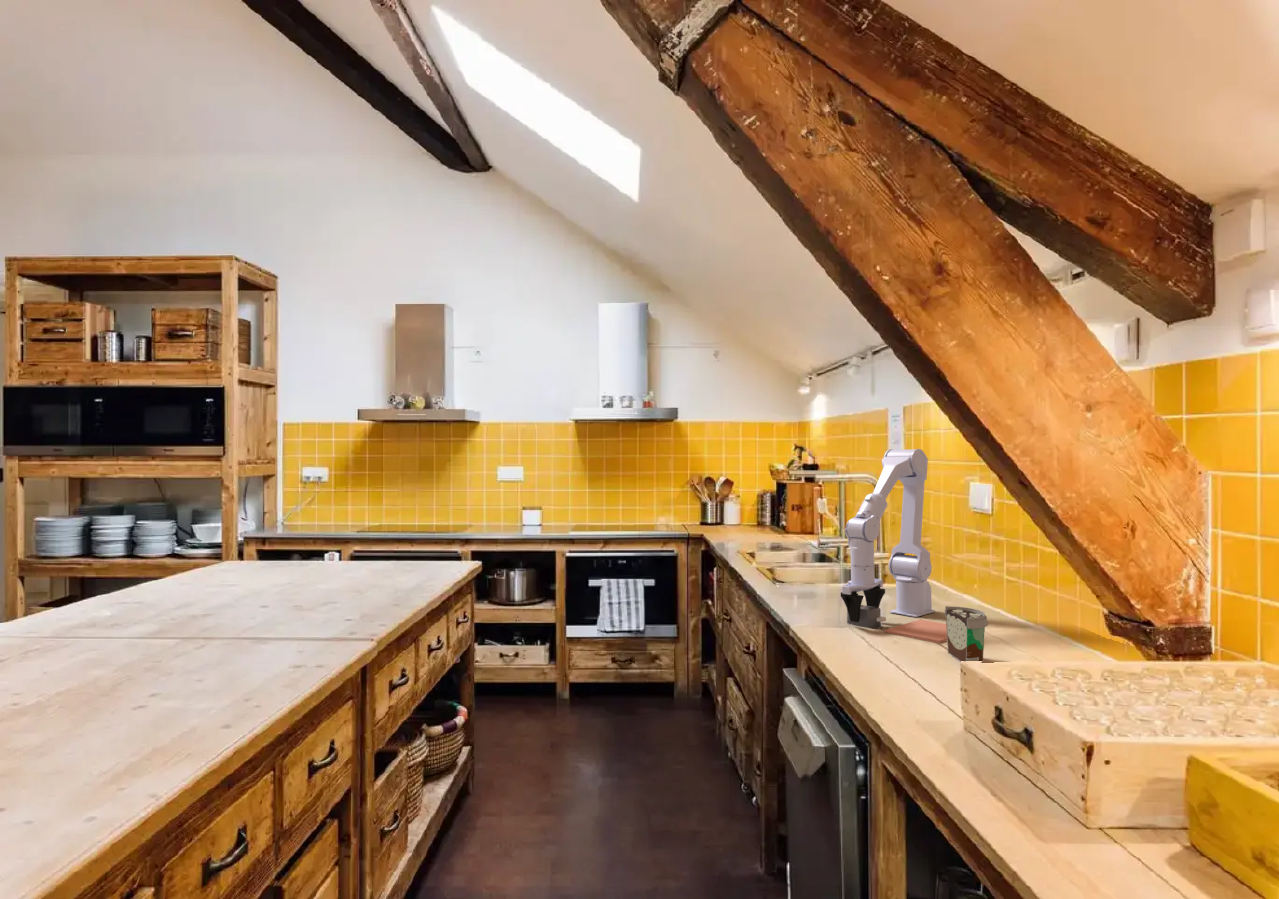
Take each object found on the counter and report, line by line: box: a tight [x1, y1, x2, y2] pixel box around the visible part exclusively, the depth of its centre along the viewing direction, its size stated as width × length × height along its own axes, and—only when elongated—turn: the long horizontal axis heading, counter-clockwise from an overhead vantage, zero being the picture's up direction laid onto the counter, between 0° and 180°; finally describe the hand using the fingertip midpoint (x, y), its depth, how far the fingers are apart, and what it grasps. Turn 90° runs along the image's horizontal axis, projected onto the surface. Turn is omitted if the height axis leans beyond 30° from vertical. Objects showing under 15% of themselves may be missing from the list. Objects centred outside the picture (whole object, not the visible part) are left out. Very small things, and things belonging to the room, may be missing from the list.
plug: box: [846, 604, 887, 630], centre depth 186 cm, size 4×10×4 cm, turn 39°
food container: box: [944, 605, 989, 663], centre depth 155 cm, size 12×6×10 cm, turn 179°
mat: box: [884, 619, 947, 644], centre depth 178 cm, size 16×14×1 cm
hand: (863, 619), depth 187 cm, fingers open, 7 cm apart
